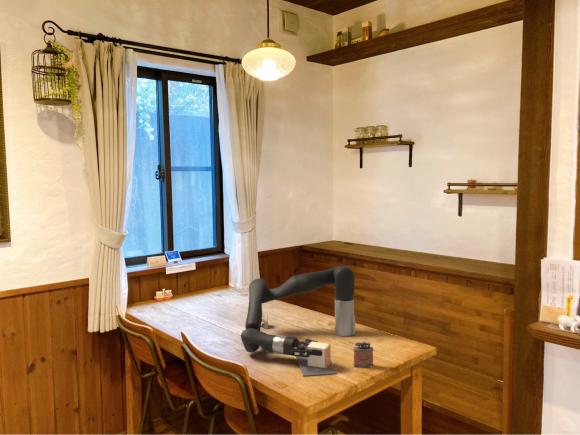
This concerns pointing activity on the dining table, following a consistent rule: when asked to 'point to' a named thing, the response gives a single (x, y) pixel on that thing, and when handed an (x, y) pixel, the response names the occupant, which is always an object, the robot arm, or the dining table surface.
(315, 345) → the block
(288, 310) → the dining table surface
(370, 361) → the lighter
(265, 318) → the architectural model
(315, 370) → the mat
